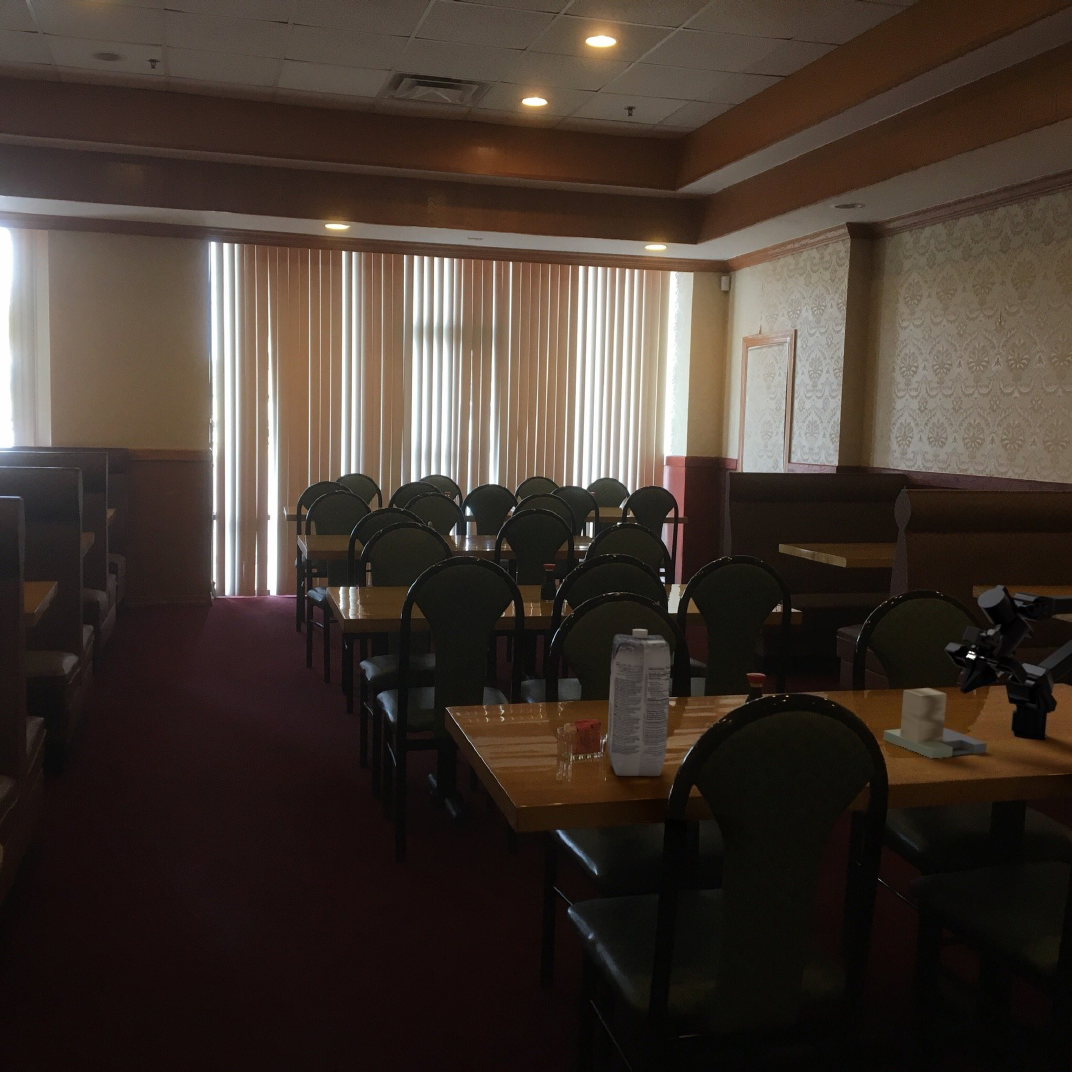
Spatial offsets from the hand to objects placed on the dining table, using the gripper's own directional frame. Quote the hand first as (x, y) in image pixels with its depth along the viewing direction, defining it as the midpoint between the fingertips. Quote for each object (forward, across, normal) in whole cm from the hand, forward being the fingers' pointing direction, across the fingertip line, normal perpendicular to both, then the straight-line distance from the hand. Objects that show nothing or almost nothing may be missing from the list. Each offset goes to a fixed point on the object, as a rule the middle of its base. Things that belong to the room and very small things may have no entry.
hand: (962, 692), depth 233 cm
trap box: (+13, 0, +3) cm, 13 cm away
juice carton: (+62, -6, -46) cm, 77 cm away
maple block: (+14, 0, -1) cm, 14 cm away
